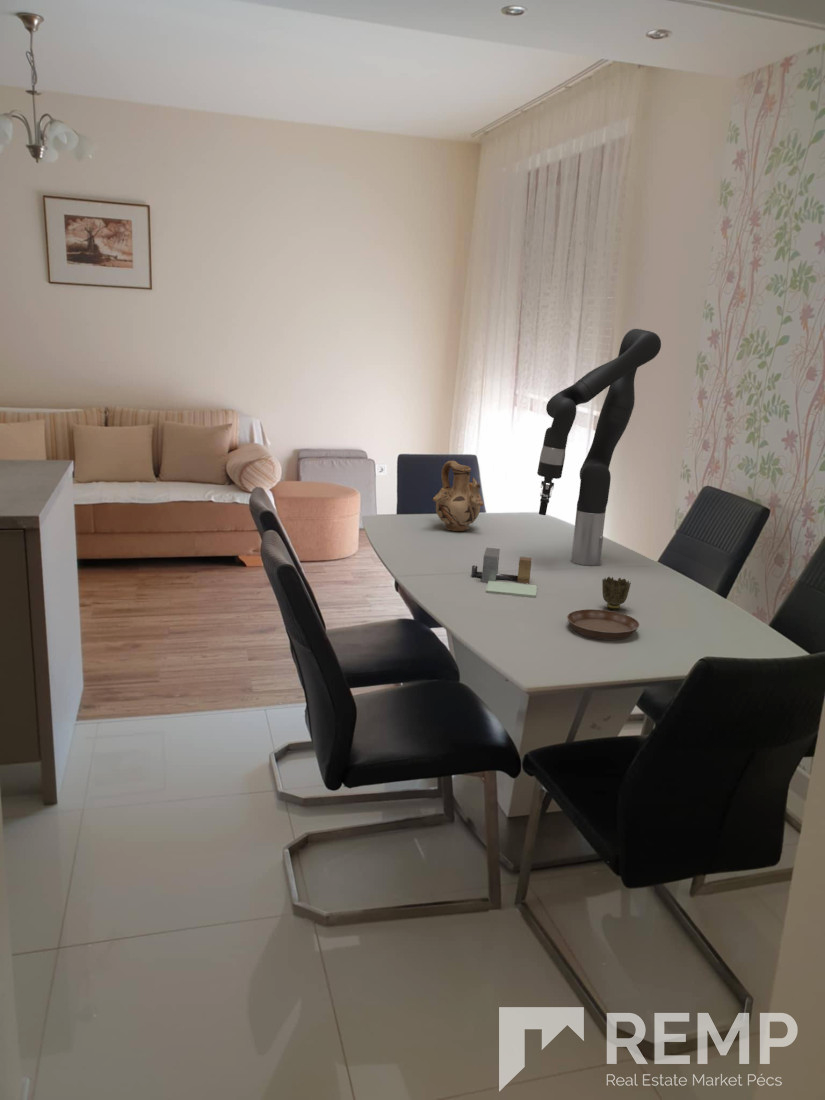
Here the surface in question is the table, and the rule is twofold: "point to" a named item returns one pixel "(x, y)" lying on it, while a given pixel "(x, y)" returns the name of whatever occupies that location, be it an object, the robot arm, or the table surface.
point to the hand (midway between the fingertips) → (542, 512)
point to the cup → (615, 592)
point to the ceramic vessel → (458, 498)
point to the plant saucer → (602, 624)
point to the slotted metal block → (490, 564)
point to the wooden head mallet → (522, 575)
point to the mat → (511, 589)
